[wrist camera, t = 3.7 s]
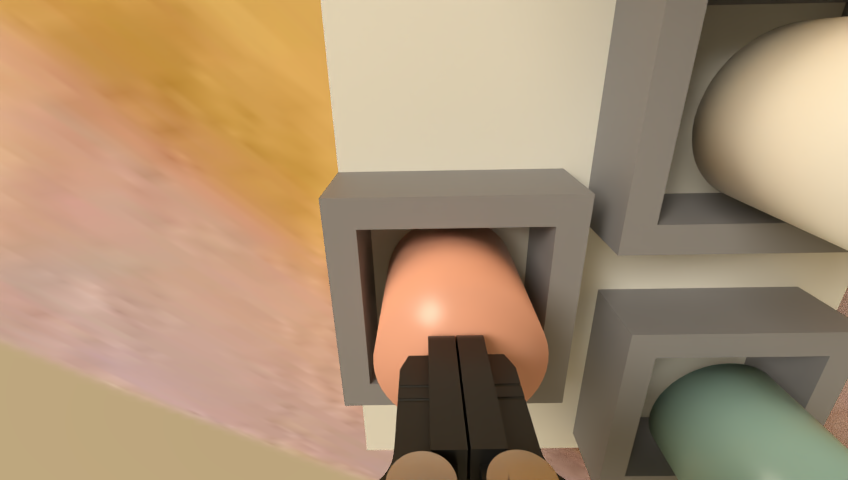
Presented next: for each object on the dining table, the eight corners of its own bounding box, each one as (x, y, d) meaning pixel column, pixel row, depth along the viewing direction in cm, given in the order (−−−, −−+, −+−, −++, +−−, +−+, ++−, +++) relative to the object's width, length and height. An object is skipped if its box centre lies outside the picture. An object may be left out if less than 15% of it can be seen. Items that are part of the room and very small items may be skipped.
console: (951, -101, 13) (1231, -185, 9) (746, 413, 22) (830, 506, 18) (325, -87, 13) (273, -162, 9) (371, 417, 22) (358, 510, 18)
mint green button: (797, 362, 15) (961, 497, 10) (756, 455, 17) (879, 604, 12) (663, 363, 15) (768, 499, 10) (637, 457, 17) (717, 605, 12)
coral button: (517, 215, 15) (558, 285, 10) (508, 326, 17) (539, 426, 12) (384, 217, 15) (366, 288, 10) (391, 327, 17) (378, 427, 12)
